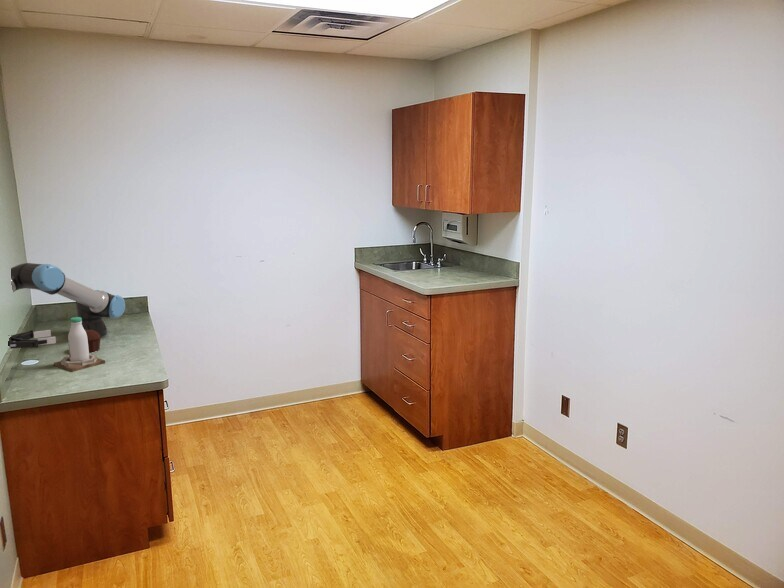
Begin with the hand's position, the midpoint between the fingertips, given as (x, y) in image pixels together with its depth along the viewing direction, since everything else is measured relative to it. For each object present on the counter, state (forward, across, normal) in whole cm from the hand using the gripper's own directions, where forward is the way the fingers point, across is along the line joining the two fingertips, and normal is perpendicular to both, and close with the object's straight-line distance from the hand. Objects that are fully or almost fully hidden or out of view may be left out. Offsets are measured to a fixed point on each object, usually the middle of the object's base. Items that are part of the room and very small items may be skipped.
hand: (53, 336), depth 263 cm
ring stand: (+9, 0, -14) cm, 17 cm away
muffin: (+17, -20, -14) cm, 30 cm away
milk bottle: (+10, 0, -13) cm, 16 cm away
